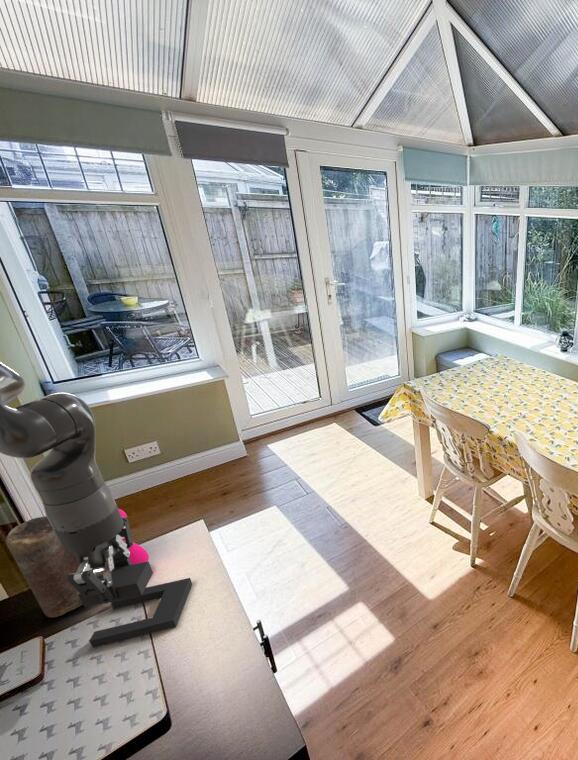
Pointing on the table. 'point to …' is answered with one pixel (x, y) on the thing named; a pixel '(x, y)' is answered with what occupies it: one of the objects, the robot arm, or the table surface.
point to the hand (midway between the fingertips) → (119, 586)
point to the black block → (125, 582)
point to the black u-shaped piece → (162, 619)
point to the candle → (45, 565)
